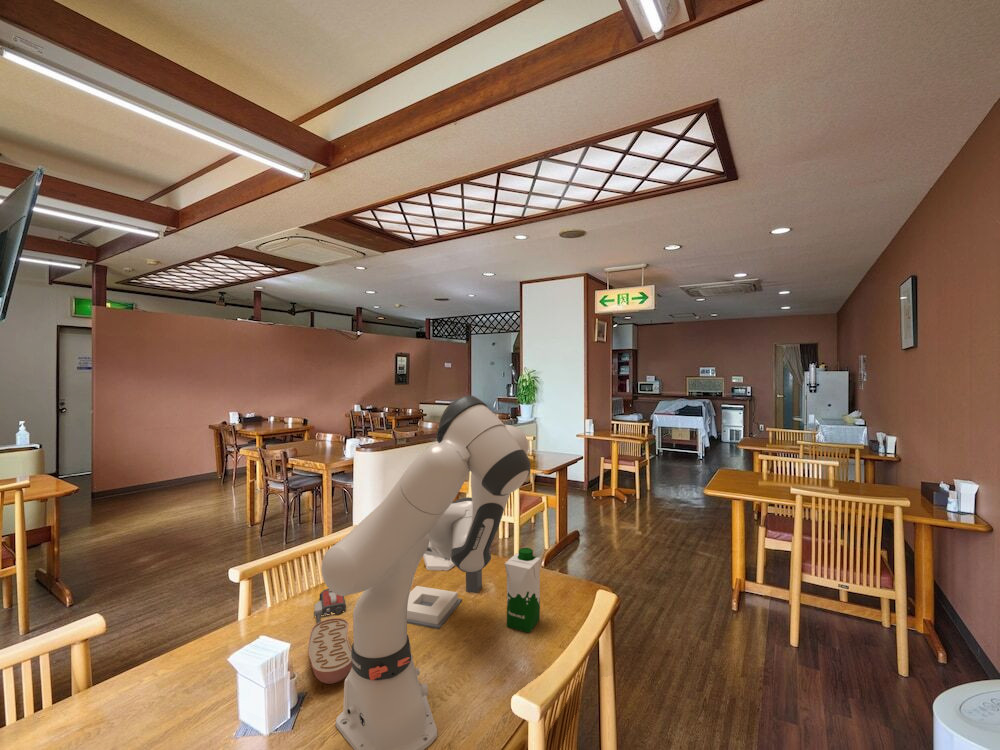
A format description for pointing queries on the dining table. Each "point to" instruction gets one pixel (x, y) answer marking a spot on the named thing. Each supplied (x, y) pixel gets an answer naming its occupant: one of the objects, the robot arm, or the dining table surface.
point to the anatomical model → (330, 650)
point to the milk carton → (523, 590)
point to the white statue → (437, 563)
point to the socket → (431, 606)
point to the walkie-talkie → (329, 604)
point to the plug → (474, 581)
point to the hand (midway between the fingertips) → (462, 560)
